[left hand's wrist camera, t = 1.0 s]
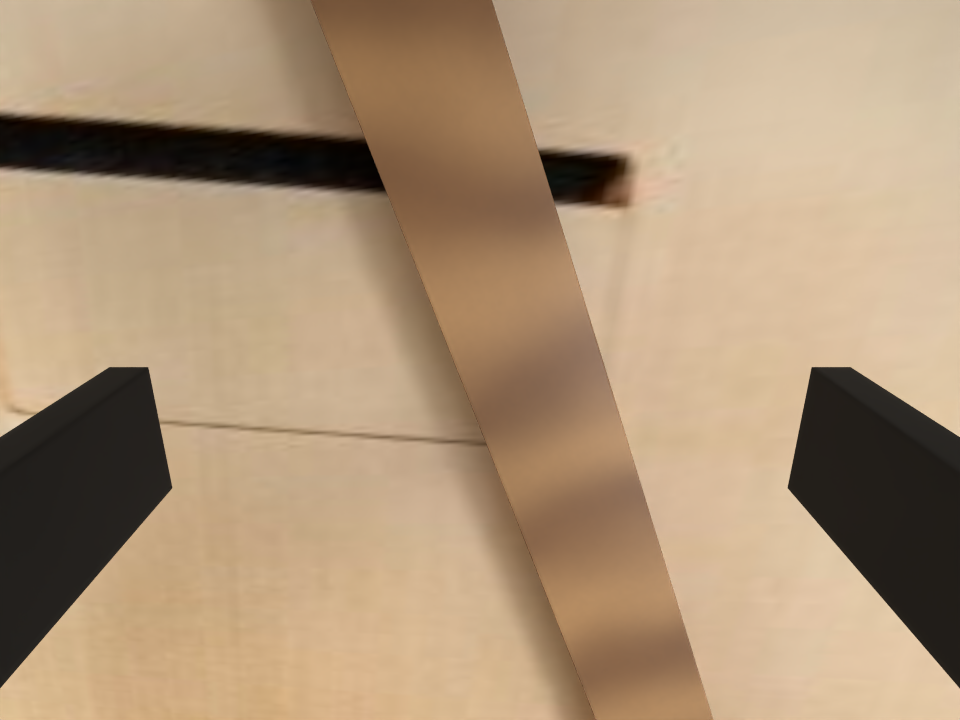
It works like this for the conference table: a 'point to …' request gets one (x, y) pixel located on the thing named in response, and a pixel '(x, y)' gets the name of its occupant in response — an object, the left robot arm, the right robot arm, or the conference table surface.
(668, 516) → the conference table surface
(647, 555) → the beam
